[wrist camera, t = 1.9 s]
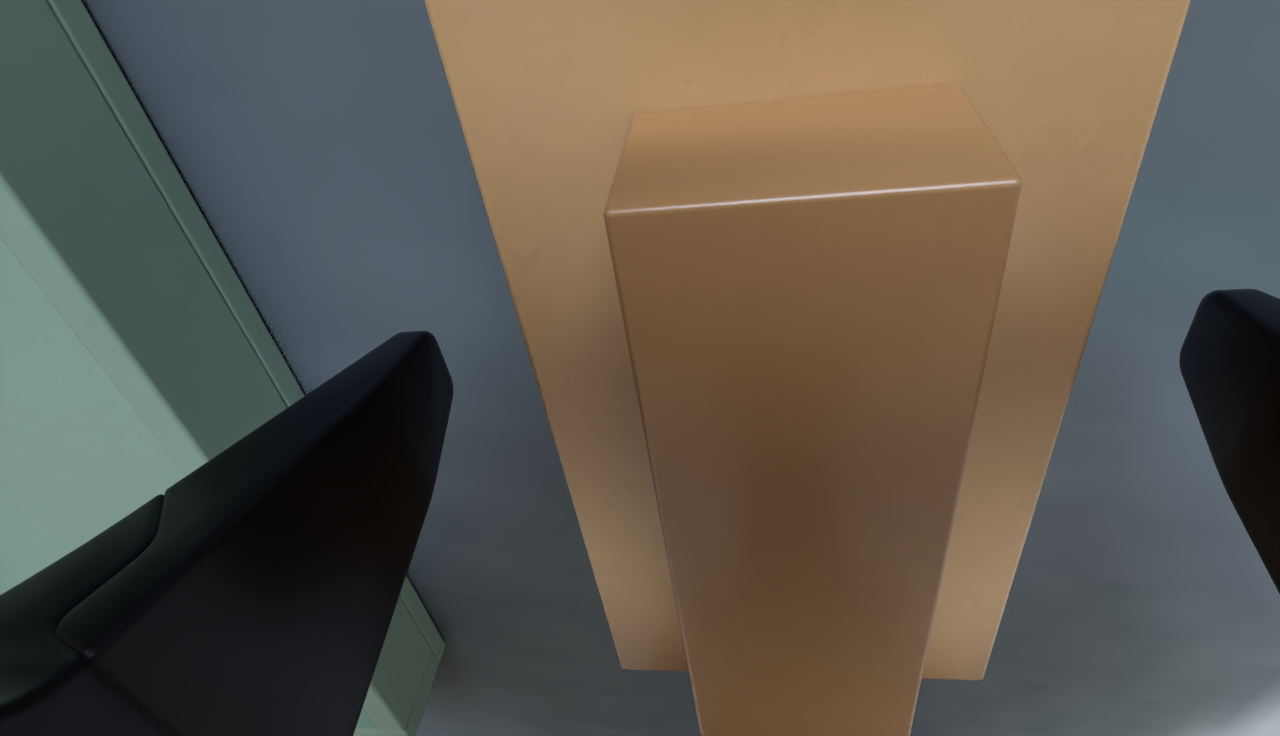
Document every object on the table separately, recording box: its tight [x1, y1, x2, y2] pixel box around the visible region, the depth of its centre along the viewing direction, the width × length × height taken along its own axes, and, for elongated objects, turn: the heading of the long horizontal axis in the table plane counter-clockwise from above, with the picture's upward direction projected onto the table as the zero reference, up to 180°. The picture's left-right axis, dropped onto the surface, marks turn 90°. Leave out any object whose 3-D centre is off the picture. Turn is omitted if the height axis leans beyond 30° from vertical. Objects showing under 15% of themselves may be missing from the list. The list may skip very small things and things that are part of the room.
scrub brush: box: [424, 0, 1191, 736], centre depth 8 cm, size 10×5×5 cm, turn 8°
